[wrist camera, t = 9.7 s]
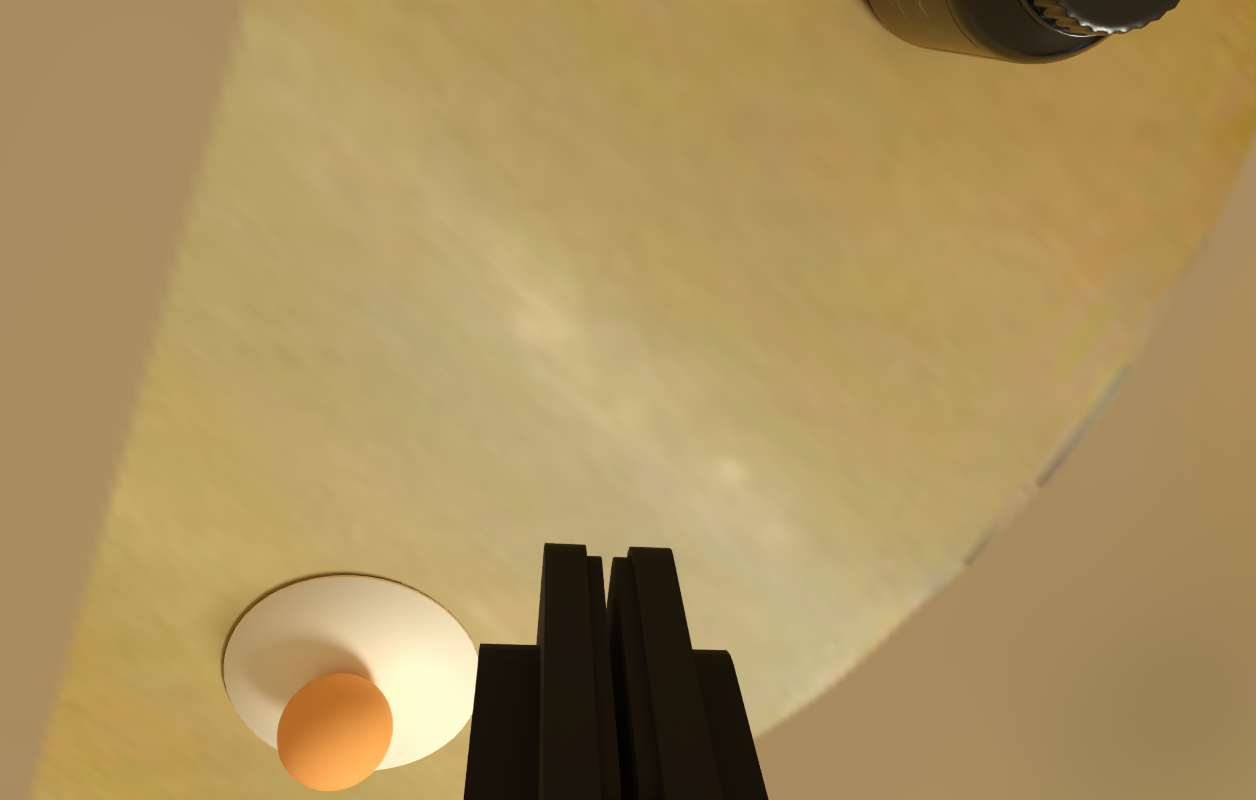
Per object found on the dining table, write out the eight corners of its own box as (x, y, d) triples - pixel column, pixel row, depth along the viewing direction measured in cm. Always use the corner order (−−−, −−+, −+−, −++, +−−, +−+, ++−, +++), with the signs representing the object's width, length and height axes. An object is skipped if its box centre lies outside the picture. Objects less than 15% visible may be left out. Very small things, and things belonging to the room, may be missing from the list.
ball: (260, 712, 40) (261, 814, 42) (382, 717, 41) (379, 818, 42) (295, 649, 45) (295, 741, 47) (403, 654, 46) (400, 745, 47)
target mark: (211, 572, 42) (209, 574, 42) (482, 577, 44) (482, 579, 44) (237, 768, 48) (236, 771, 48) (479, 767, 49) (478, 770, 49)
